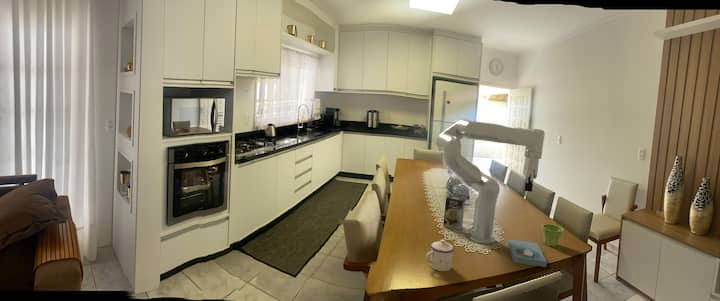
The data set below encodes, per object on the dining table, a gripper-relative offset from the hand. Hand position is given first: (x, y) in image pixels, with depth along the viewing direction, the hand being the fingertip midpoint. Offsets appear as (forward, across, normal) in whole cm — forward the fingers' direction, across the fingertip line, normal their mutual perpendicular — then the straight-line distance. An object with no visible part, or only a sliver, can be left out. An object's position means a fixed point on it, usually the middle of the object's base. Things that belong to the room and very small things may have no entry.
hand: (528, 190), depth 188 cm
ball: (+23, +24, -2) cm, 34 cm away
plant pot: (+25, +2, +13) cm, 29 cm away
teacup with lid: (+25, +46, -40) cm, 66 cm away
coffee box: (+25, -4, -34) cm, 43 cm away
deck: (+25, +20, -2) cm, 32 cm away
